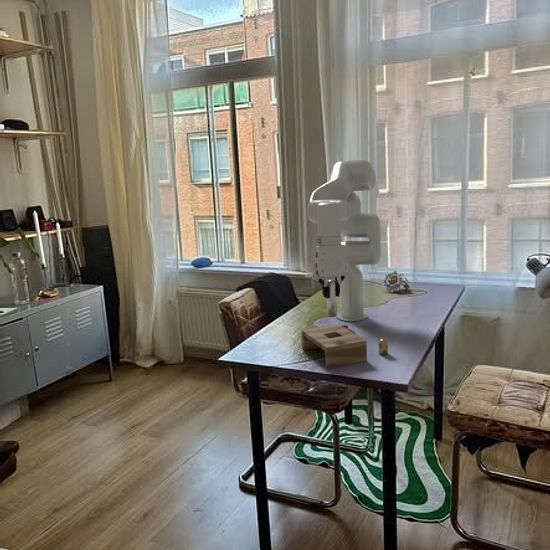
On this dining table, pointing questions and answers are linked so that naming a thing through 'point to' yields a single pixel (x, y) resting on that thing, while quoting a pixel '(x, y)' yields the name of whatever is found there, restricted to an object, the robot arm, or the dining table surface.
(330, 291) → the long pin
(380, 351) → the short pin
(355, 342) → the hole stand
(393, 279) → the passion flower
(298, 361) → the dining table surface
